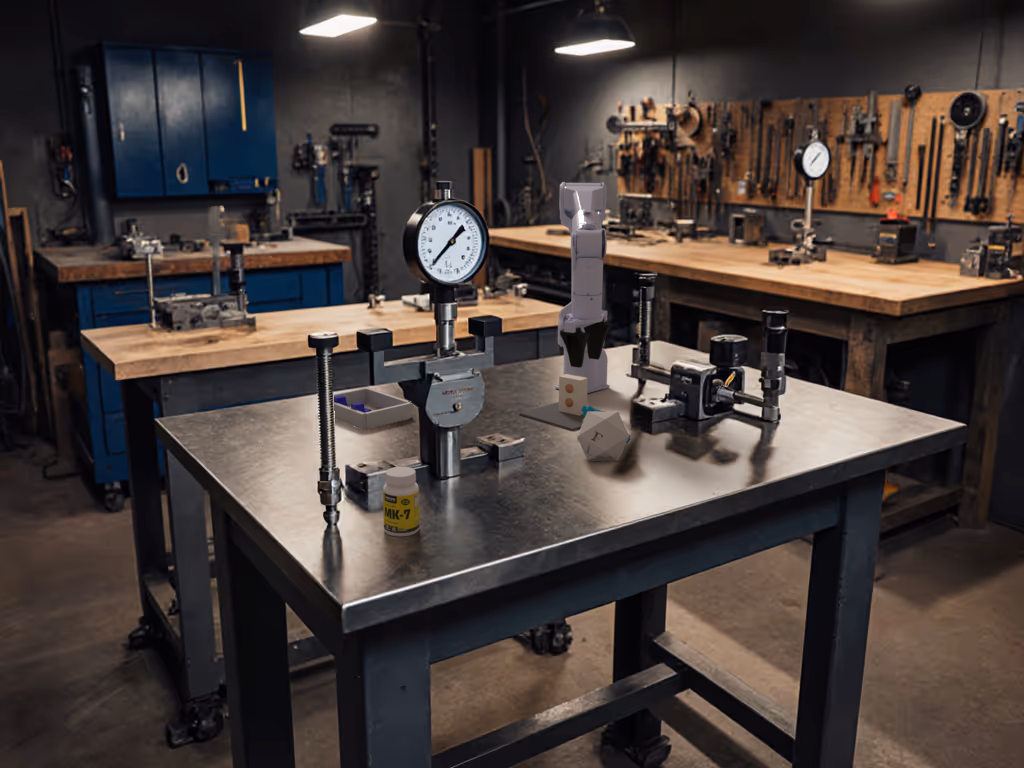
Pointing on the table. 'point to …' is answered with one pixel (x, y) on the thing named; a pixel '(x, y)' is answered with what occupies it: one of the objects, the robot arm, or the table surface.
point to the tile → (572, 394)
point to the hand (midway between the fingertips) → (585, 362)
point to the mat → (555, 416)
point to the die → (603, 436)
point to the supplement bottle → (401, 502)
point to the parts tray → (390, 413)
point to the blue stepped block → (356, 406)
